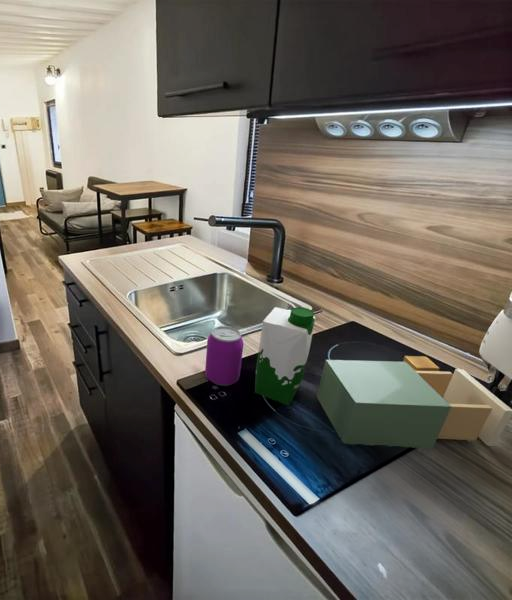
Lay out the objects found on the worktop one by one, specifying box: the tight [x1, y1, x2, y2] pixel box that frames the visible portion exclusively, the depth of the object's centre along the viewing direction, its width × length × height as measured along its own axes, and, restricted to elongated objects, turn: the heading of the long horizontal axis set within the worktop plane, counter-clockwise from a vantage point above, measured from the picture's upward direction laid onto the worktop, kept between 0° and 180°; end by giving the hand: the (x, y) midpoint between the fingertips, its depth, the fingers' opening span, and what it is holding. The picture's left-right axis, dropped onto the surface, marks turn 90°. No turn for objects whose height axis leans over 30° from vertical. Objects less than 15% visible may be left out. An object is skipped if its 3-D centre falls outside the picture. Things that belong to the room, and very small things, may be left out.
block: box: [402, 355, 441, 371], centre depth 80 cm, size 4×4×4 cm
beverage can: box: [204, 325, 245, 387], centre depth 82 cm, size 8×8×12 cm
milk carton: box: [254, 306, 317, 407], centre depth 75 cm, size 9×9×20 cm
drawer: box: [416, 368, 512, 447], centre depth 66 cm, size 19×11×8 cm, turn 83°
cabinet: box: [316, 359, 451, 450], centre depth 68 cm, size 15×13×10 cm
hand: (494, 403), depth 65 cm, fingers closed
